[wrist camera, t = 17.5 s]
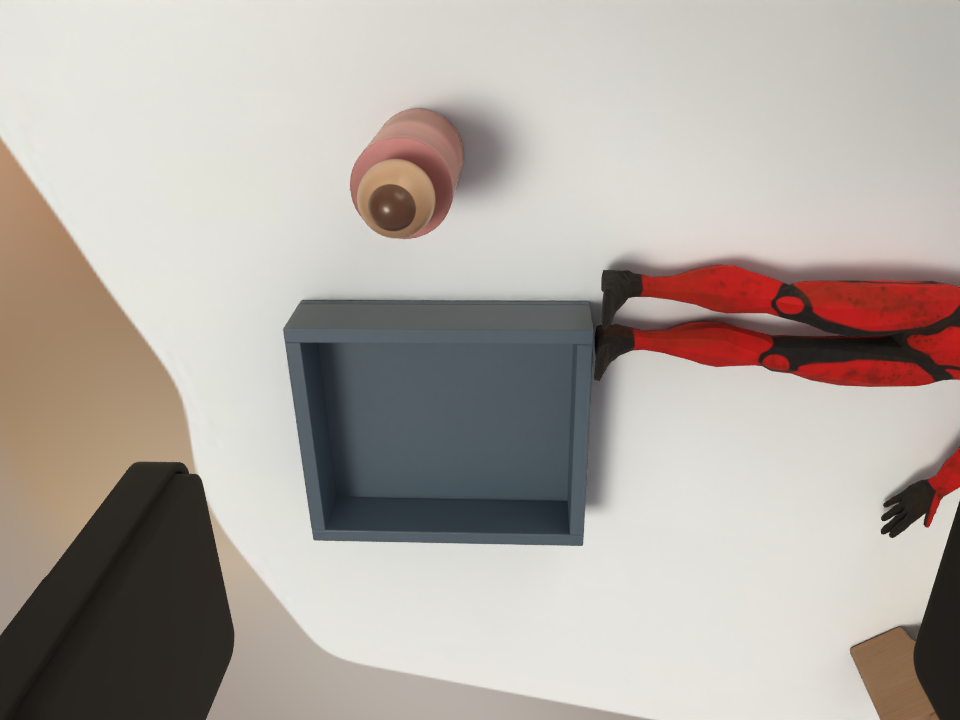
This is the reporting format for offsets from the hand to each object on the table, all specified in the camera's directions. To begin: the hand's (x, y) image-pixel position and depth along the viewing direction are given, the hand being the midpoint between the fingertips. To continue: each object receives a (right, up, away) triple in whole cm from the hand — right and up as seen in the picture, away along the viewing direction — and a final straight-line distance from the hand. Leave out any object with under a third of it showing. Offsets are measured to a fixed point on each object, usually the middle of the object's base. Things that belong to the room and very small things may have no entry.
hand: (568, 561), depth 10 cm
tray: (-3, 0, +37) cm, 37 cm away
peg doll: (-4, +13, +30) cm, 33 cm away
